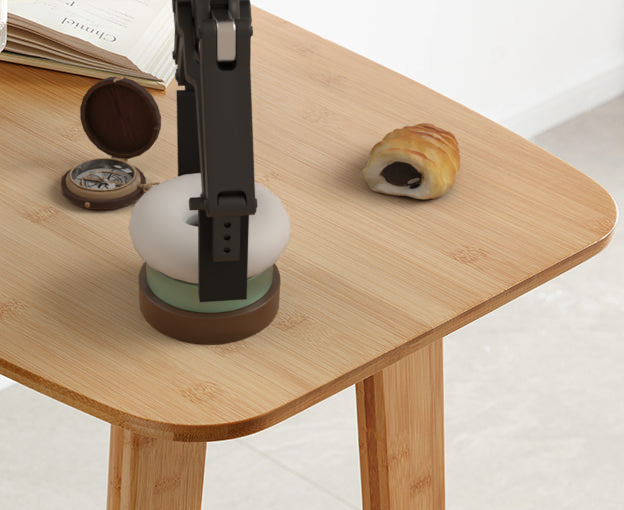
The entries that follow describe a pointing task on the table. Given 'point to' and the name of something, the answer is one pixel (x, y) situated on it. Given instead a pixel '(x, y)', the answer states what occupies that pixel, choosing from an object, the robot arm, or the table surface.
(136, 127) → the compass
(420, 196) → the pastry
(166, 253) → the donut
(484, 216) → the table surface
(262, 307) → the ring stack
